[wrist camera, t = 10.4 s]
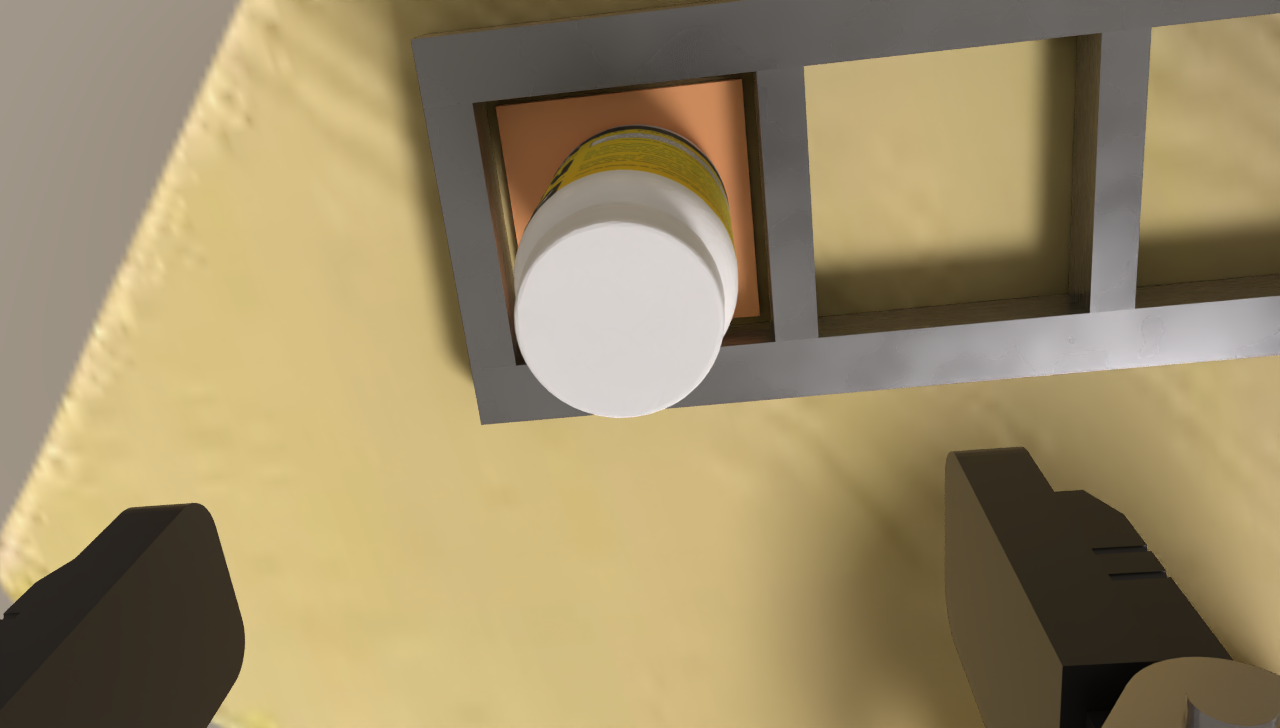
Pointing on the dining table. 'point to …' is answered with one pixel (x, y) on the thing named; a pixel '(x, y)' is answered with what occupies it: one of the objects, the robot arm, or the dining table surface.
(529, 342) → the supplement bottle
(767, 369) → the grey flat rectangular frame
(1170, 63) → the dining table surface
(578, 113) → the marked hole pad
